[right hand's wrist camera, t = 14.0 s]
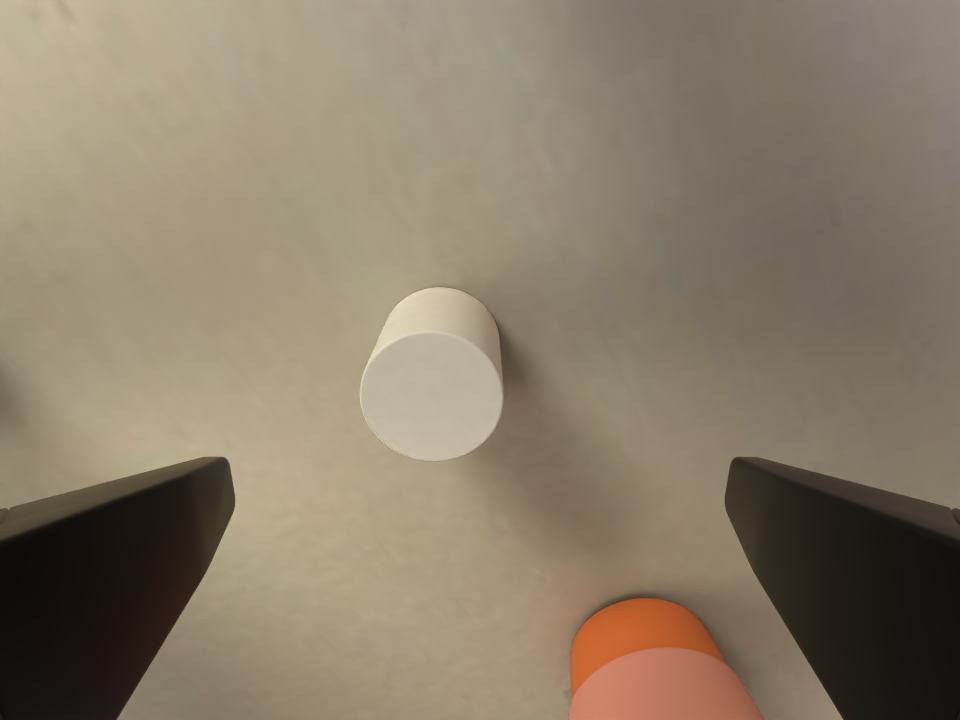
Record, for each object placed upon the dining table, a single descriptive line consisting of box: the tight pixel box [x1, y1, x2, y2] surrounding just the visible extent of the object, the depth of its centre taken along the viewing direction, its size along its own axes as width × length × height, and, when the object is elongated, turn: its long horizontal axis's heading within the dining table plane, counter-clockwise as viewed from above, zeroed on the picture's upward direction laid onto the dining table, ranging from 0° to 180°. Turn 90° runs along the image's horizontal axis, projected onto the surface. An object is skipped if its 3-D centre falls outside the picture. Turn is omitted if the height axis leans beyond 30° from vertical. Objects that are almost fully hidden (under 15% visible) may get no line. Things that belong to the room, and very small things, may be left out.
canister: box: [360, 287, 504, 462], centre depth 21 cm, size 4×4×5 cm
